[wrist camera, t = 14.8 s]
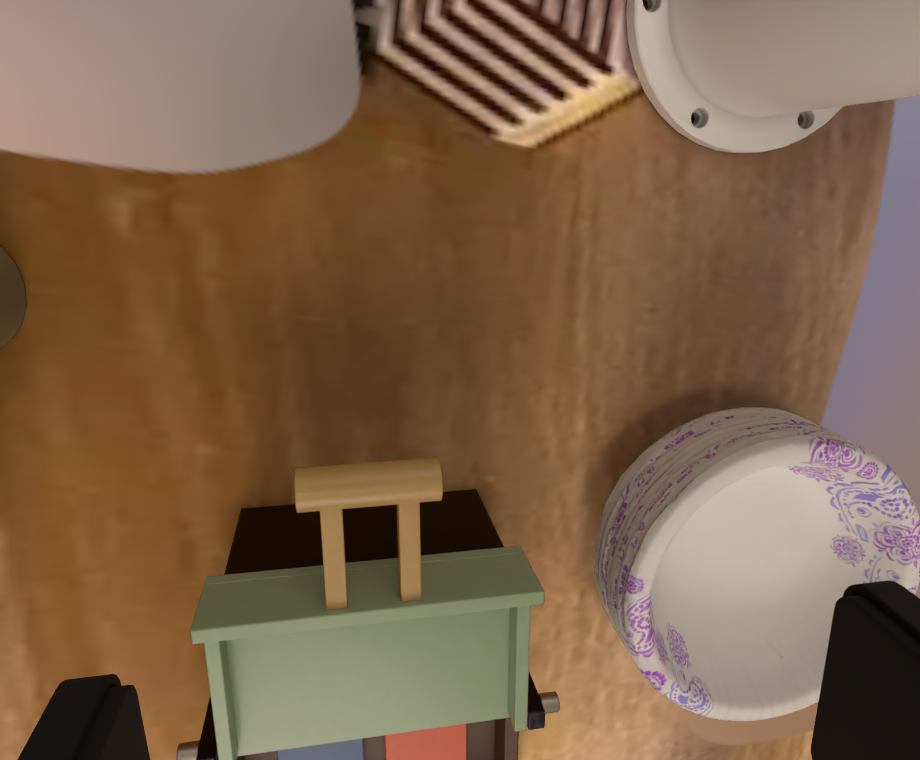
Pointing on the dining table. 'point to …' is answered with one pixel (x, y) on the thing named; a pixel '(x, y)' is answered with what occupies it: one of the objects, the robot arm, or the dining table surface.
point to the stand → (365, 538)
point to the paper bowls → (747, 556)
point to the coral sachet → (428, 744)
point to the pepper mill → (10, 298)
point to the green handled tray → (366, 628)
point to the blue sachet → (326, 751)
